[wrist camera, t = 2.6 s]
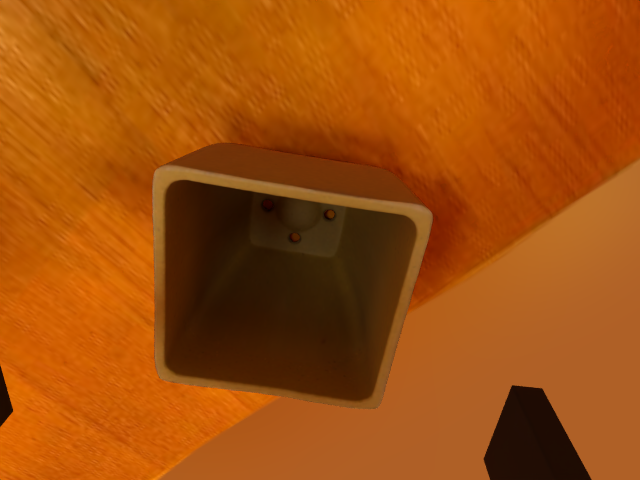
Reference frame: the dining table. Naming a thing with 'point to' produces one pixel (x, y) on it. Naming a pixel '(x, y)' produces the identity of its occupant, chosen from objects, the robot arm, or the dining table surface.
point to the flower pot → (283, 273)
